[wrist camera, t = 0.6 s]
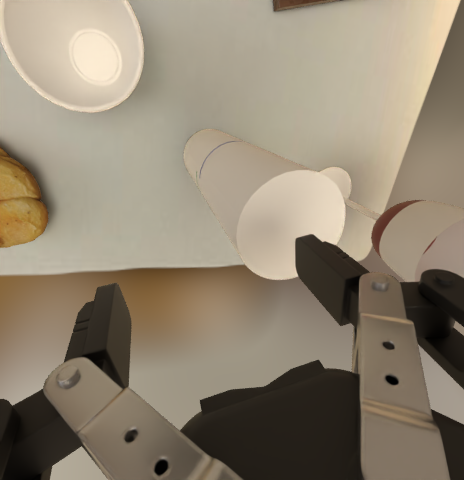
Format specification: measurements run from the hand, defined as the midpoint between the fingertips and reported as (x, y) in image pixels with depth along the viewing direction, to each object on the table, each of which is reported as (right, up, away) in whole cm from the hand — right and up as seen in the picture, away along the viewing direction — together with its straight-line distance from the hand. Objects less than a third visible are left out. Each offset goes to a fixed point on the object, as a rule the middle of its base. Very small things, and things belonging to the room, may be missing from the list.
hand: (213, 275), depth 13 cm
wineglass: (+17, +9, +34) cm, 39 cm away
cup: (-14, +21, +18) cm, 31 cm away
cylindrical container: (-2, +13, +26) cm, 29 cm away
